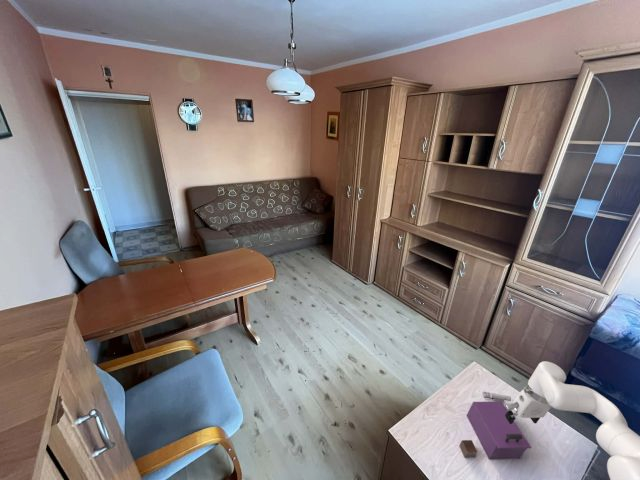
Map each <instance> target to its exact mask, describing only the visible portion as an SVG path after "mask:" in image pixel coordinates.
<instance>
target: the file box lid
mask: <svg viewBox="0 0 640 480" xmlns="http://www.w3.org/2000/svg"><path fill="white" fill-rule="evenodd" d="M472 403H473V404H474V406H475V408H476V410H477V411H478V413H479V415H480V417H481V419H482V420H483V422H484V424H485V426H486V428H487V429H488V431H489V433H490V435H491V437H492V438H493V440H494V442H495V444H496V446H497V447H498V449H519V448H527V449H532V445H531V444H530V442H529V441H528V440H527V438H526V437H525V435H524V433H523V432H522V430H521V429H520V427H519V426H518V424H517V423H516V421H515V420H514V421H513V423H512V424H510V423H509V422H508V420H507V419H506V417H505V414H506V413H507V410H506V408H505V406H506V405H505V404H504V405H503V403H502V402H493V401H472Z"/></svg>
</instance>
